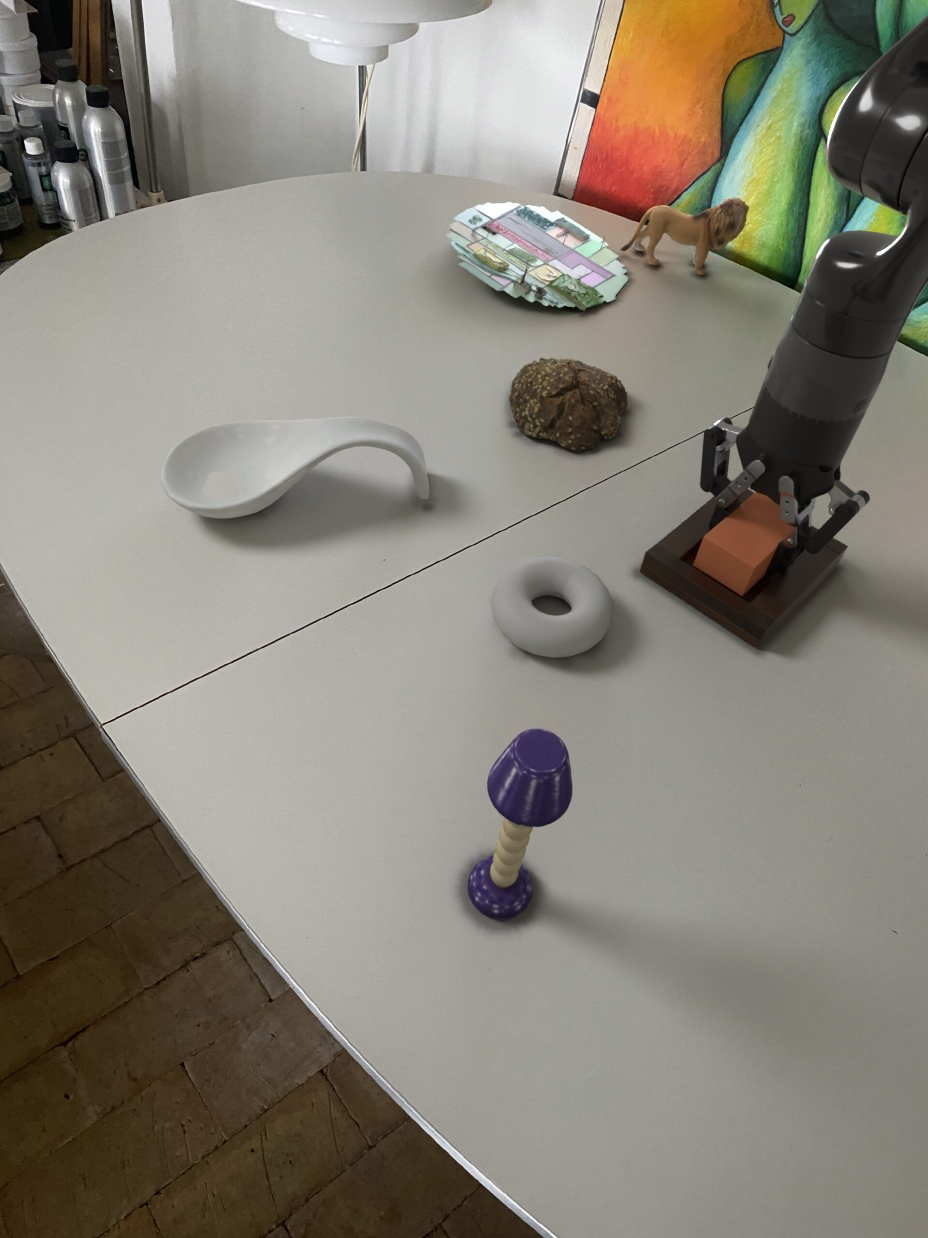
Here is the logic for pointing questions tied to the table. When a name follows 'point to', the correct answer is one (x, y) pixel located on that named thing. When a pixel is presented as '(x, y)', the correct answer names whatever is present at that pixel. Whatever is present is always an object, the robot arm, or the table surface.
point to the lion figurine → (692, 229)
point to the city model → (536, 255)
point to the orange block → (742, 544)
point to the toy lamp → (520, 817)
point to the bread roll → (567, 403)
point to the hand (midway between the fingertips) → (746, 551)
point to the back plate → (736, 613)
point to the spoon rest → (274, 458)
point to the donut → (547, 630)
